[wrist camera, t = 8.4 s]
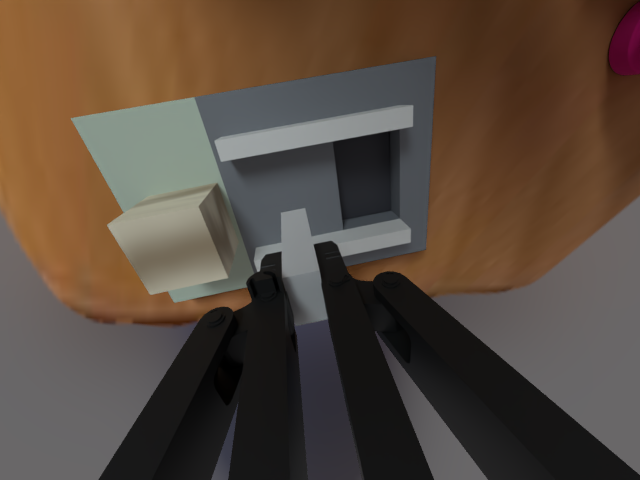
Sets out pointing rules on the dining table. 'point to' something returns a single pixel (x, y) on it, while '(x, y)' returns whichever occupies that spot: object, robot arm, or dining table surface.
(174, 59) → the dining table surface
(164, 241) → the maple block
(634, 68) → the pepper mill
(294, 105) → the pit deck
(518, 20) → the dining table surface
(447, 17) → the dining table surface
